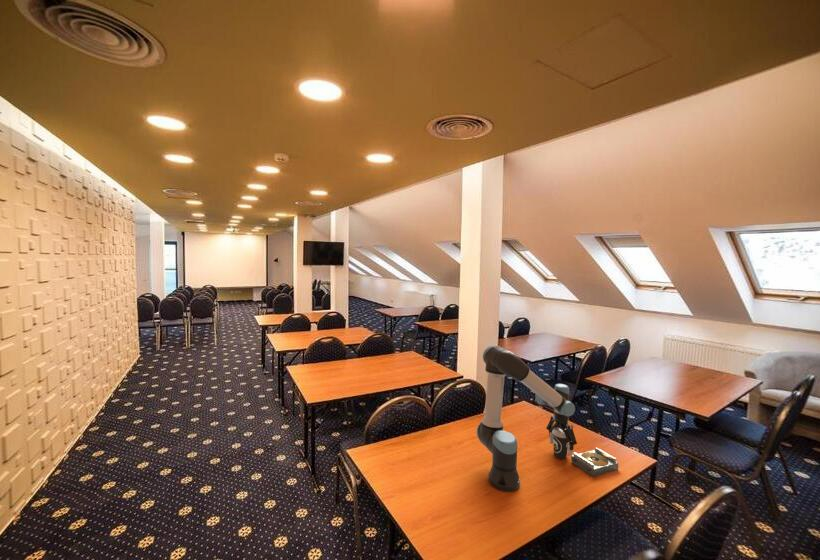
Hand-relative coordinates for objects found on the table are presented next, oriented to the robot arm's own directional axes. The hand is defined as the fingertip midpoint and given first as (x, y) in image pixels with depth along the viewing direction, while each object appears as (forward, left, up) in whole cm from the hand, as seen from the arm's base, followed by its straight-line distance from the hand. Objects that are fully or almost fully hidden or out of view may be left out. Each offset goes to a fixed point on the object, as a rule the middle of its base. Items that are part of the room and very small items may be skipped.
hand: (560, 449), depth 195 cm
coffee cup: (0, 0, -4) cm, 4 cm away
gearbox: (+10, -14, -4) cm, 18 cm away
